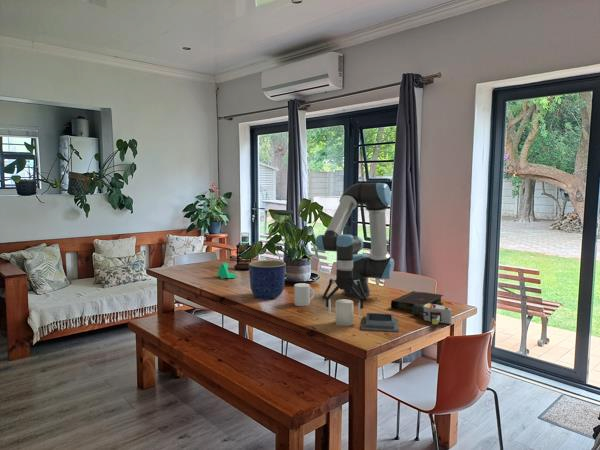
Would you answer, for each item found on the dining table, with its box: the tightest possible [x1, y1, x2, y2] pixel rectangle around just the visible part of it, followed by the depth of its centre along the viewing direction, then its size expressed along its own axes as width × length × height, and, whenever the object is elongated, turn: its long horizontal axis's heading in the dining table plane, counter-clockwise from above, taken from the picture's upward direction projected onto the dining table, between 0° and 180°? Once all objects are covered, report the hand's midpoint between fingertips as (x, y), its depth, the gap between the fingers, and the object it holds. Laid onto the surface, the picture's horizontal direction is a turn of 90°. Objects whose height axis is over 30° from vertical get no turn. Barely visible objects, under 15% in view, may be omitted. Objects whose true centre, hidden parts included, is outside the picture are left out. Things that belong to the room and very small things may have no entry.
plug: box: [335, 298, 354, 327], centre depth 199 cm, size 8×8×10 cm
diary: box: [390, 290, 444, 313], centre depth 227 cm, size 19×25×5 cm
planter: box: [248, 259, 287, 300], centre depth 245 cm, size 21×21×19 cm
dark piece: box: [233, 242, 252, 271], centre depth 325 cm, size 15×15×20 cm
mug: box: [293, 282, 316, 307], centre depth 232 cm, size 8×10×12 cm
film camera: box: [411, 303, 453, 325], centre depth 202 cm, size 7×19×15 cm
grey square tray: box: [360, 312, 400, 333], centre depth 197 cm, size 16×16×4 cm
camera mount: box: [217, 262, 237, 279], centre depth 296 cm, size 12×8×10 cm, turn 45°
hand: (344, 315), depth 199 cm, fingers open, 13 cm apart
